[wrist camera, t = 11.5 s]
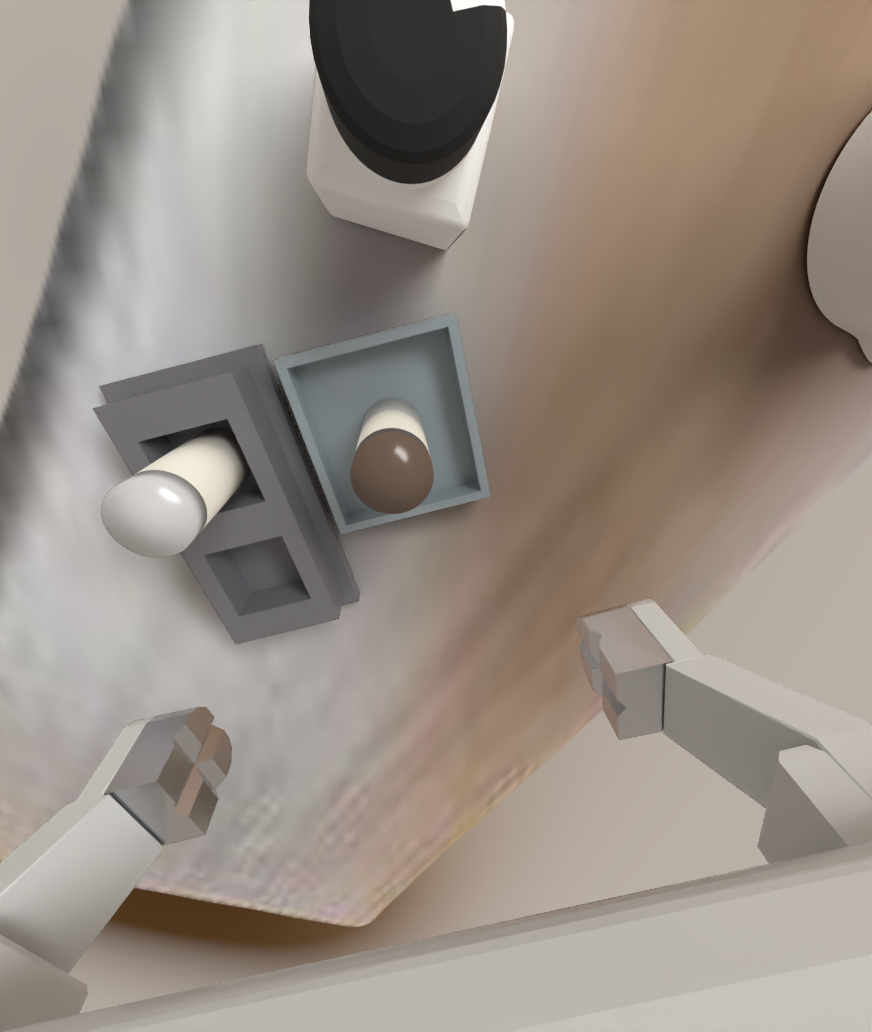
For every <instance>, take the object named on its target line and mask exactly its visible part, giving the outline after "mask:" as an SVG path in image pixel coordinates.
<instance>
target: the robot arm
mask: <svg viewBox="0 0 872 1032" xmlns="http://www.w3.org/2000/svg"><path fill="white" fill-rule="evenodd" d="M807 270H808V279H809V284H810V288H811V292H812V295H813V297H814V300H815V302H816V304H817V306H818V307H819V309H820V310H821V312H822V313H823V314H824V316H825V317H826V318H827V319H828V320H829V321H831V322H832V323H833V324H834V325H836V326H837V327H839V328H841V329H843V330H845V331H847V332H849V333H850V334H852V335H853V336H855V337H856V338H857V339H858V341H859V344H860V346H861V348H862V350H863V352H864V354H865V356H866V358H867V359H868V360H869V361H870V362H871V363H872V111H871V112H870V113H869V115H868V116H867V117H866V118H865V119H864V121H863V122H862V123H861V124H860V126H859V127H858V128H857V130H856V131H855V132H854V134H853V135H852V137H851V138H850V139H849V141H848V142H847V144H846V146H845V147H844V149H843V150H842V152H841V153H840V155H839V157H838V159H837V161H836V162H835V164H834V166H833V168H832V170H831V172H830V174H829V176H828V178H827V180H826V183H825V185H824V187H823V190H822V192H821V195H820V197H819V200H818V203H817V206H816V209H815V212H814V216H813V220H812V224H811V228H810V234H809V240H808V250H807ZM577 628H578V632H579V634H580V636H581V637H582V639H583V641H582V643H581V644H580V646H579V648H580V655H581V660H582V664H583V668H584V671H585V674H586V676H587V678H588V681H589V683H590V685H591V687H592V689H593V691H594V692H596V693H597V694H599V695H601V696H602V700H603V710H604V712H605V714H606V716H607V718H608V720H609V722H610V723H611V725H612V727H613V729H614V731H615V733H616V735H617V737H618V739H619V740H622V739H627V738H632V737H637V736H642V735H646V734H652V733H657V732H662V731H664V734H665V735H666V736H668V737H669V738H670V739H671V740H673V741H674V742H676V743H677V744H679V745H680V746H681V747H683V748H684V749H685V750H687V751H688V752H689V753H691V754H692V755H693V756H695V757H696V758H697V759H699V760H700V761H702V762H703V763H705V764H706V765H707V766H708V767H710V768H711V769H712V770H714V771H715V772H717V773H718V774H719V775H721V776H722V777H723V778H725V779H726V780H727V781H729V782H730V783H732V784H733V785H735V786H736V787H737V788H738V789H740V790H741V791H743V792H744V793H745V794H747V795H748V796H749V797H751V798H752V799H754V800H755V801H756V802H758V803H759V804H760V805H762V806H763V807H764V808H766V811H765V815H764V820H763V824H762V829H761V833H760V838H759V842H758V848H759V849H760V851H761V852H762V854H763V855H764V857H765V858H766V860H767V861H768V863H769V864H765V865H761V866H756V867H751V868H747V869H742V870H738V871H733V872H728V873H724V874H720V875H715V876H710V877H706V878H701V879H696V880H692V881H687V882H683V883H678V884H674V885H669V886H664V887H660V888H655V889H650V890H646V891H642V892H637V893H632V894H627V895H623V896H618V897H614V898H609V899H604V900H601V901H595V902H591V903H587V904H582V905H577V906H573V907H568V908H563V909H558V910H554V911H550V912H545V913H540V914H536V915H531V916H526V917H522V918H517V919H513V920H508V921H503V922H499V923H495V924H490V925H485V926H480V927H476V928H472V929H467V930H462V931H458V932H453V933H449V934H444V935H439V936H435V937H431V938H425V939H421V940H416V941H412V942H407V943H402V944H398V945H393V946H389V947H384V948H379V949H375V950H370V951H366V952H361V953H356V954H352V955H347V956H343V957H338V958H334V959H329V960H324V961H320V962H316V963H310V964H306V965H301V966H297V967H292V968H287V969H283V970H278V971H274V972H269V973H265V974H260V975H255V976H251V977H246V978H242V979H237V980H232V981H228V982H223V983H219V984H214V985H210V986H205V987H200V988H196V989H191V990H187V991H182V992H178V993H173V994H168V995H164V996H159V997H155V998H150V999H145V1000H141V1001H136V1002H132V1003H127V1004H123V1005H118V1006H113V1007H109V1008H104V1009H100V1010H96V1011H90V1012H86V1013H82V1014H79V1013H80V1010H81V1008H82V1006H83V1004H84V1001H85V999H86V997H87V995H88V991H87V985H86V984H84V983H83V982H81V981H79V980H78V979H76V978H74V977H72V976H71V975H69V972H70V971H71V970H72V968H73V967H74V966H75V964H76V963H77V962H78V960H79V959H80V958H81V956H82V955H83V954H84V952H85V951H86V950H87V949H88V947H89V946H90V945H91V943H92V942H93V941H94V939H95V938H96V937H97V935H98V934H99V933H100V931H101V930H102V929H103V928H104V926H105V925H106V924H107V922H108V921H109V920H110V918H111V917H112V916H113V914H114V913H115V912H116V910H117V909H118V908H119V906H120V905H121V904H122V903H123V901H124V900H125V899H126V897H127V896H128V895H129V893H130V892H131V891H132V890H133V888H134V887H135V886H136V884H137V883H138V882H139V880H140V879H141V878H142V876H143V875H144V874H145V873H146V871H147V870H148V869H149V867H150V866H151V865H152V863H153V862H154V861H155V859H156V858H157V857H158V855H159V854H160V853H161V852H162V850H163V849H164V847H163V846H164V845H168V844H172V843H176V842H179V841H183V840H187V839H191V838H195V837H198V836H202V835H205V834H206V831H207V828H208V826H209V823H210V820H211V817H212V815H213V812H214V809H215V807H216V804H217V801H218V797H217V793H216V790H215V789H216V788H217V787H218V786H219V785H220V783H221V782H222V781H223V780H224V779H225V778H226V776H227V773H228V771H229V768H230V765H231V756H232V746H231V743H230V739H229V737H228V735H227V734H226V733H225V731H224V730H222V729H220V728H218V727H216V726H213V725H212V724H213V720H214V716H213V715H212V714H211V712H210V711H209V710H208V709H207V707H196V708H192V709H187V710H182V711H177V712H173V713H168V714H163V715H158V716H155V717H151V718H147V719H142V720H137V721H133V722H131V723H130V724H129V725H127V726H126V727H124V729H123V730H122V732H121V733H120V735H119V736H118V738H117V739H116V741H115V742H114V744H113V745H112V747H111V748H110V750H109V751H108V753H107V755H106V756H105V758H104V759H103V761H102V762H101V764H100V765H99V767H98V768H97V770H96V771H95V773H94V774H93V776H92V777H91V779H90V780H89V782H88V783H87V785H86V786H85V788H84V789H83V791H82V792H81V794H80V796H79V797H78V799H77V800H76V802H73V803H69V804H67V805H66V806H65V807H64V808H62V809H61V810H60V811H59V812H58V813H57V814H56V815H54V816H53V817H52V818H51V819H50V820H49V821H48V822H46V823H45V824H44V825H43V826H42V827H41V828H39V829H38V830H37V831H36V832H35V833H34V834H33V835H31V836H30V837H29V838H28V839H27V840H26V841H25V842H23V843H22V844H21V845H20V846H19V847H18V848H17V849H15V850H14V851H13V852H12V853H11V854H10V855H9V856H7V857H6V858H5V859H4V860H3V861H2V862H1V863H0V1032H872V724H870V723H868V722H866V721H864V720H862V719H859V718H857V717H854V716H852V715H850V714H848V713H845V712H843V711H841V710H839V709H836V708H834V707H832V706H829V705H827V704H825V703H822V702H820V701H818V700H816V699H813V698H811V697H809V696H806V695H804V694H802V693H800V692H797V691H795V690H792V689H790V688H788V687H786V686H783V685H781V684H779V683H777V682H774V681H772V680H770V679H767V678H765V677H763V676H760V675H758V674H756V673H754V672H751V671H749V670H747V669H744V668H742V667H740V666H738V665H735V664H733V663H731V662H728V661H726V660H724V659H721V658H719V657H717V656H715V655H712V654H708V655H702V654H701V653H700V652H699V651H698V650H697V649H696V647H695V646H694V645H693V644H692V643H691V642H690V640H689V639H688V638H687V637H686V636H685V635H684V634H683V633H682V632H681V630H680V629H679V628H678V627H677V626H676V625H675V624H674V623H673V622H672V620H671V619H670V618H669V617H668V616H667V615H666V614H665V613H664V611H663V610H662V609H661V608H660V607H659V606H658V605H657V604H656V603H655V601H653V600H651V599H645V600H641V601H637V602H633V603H629V604H626V605H625V606H624V605H622V606H618V607H614V608H610V609H606V610H602V611H598V612H594V613H590V614H586V615H582V616H578V619H577Z"/></svg>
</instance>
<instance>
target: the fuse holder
mask: <svg viewBox="0 0 872 1032" xmlns="http://www.w3.org/2000/svg"><path fill="white" fill-rule="evenodd" d="M99 387H100V389H101V391H102V393H103V394H104V396H105V398H106V399H107V401H108V403H109V404H106V405H103V406H100V407H96V408H93V410H94V412H95V413H96V415H97V417H98V418H99V420H100V421H101V423H102V425H103V426H104V428H105V430H106V431H107V433H108V435H109V436H110V438H111V440H112V441H113V443H114V445H115V446H116V448H117V449H118V451H119V453H120V454H121V456H122V458H123V459H124V461H125V463H126V464H127V466H128V468H129V469H130V471H131V473H132V474H133V475H134V474H136V473H138V472H139V471H141V470H142V469H144V468H145V467H147V466H149V465H150V464H152V463H153V462H155V461H156V460H158V459H160V458H161V457H163V456H164V455H166V454H168V453H169V452H171V451H172V450H174V449H175V448H177V447H179V446H180V445H182V444H183V443H185V442H186V441H188V440H190V439H191V438H193V437H194V436H196V435H197V434H199V433H201V432H202V431H204V430H207V429H211V428H222V429H226V430H230V431H232V432H234V434H235V436H236V439H237V441H238V443H239V445H240V447H241V449H242V451H243V454H244V456H245V458H246V460H247V462H248V464H249V467H250V469H251V471H252V472H251V474H250V475H249V477H248V478H247V479H246V480H245V481H244V482H243V484H242V485H241V486H240V487H239V488H238V489H237V490H236V492H235V493H234V494H233V495H232V496H231V497H230V499H229V500H228V501H227V502H226V503H225V504H224V505H223V507H222V508H221V509H220V510H219V511H218V512H217V514H216V515H215V516H214V517H213V518H212V519H211V520H210V522H209V523H208V524H207V525H206V526H205V527H204V529H203V530H202V531H201V532H200V533H199V534H198V535H197V537H196V538H195V539H194V540H193V541H192V542H191V544H190V545H189V546H188V547H187V548H186V549H185V550H183V551H182V552H180V553H181V555H182V556H183V558H184V560H185V561H186V563H187V565H188V566H189V568H190V570H191V571H192V573H193V575H194V576H195V578H196V580H197V581H198V583H199V584H200V586H201V588H202V589H203V591H204V593H205V594H206V596H207V598H208V599H209V601H210V603H211V604H212V606H213V607H214V609H215V611H216V612H217V614H218V616H219V617H220V619H221V621H222V622H223V624H224V626H225V627H226V629H227V631H228V632H229V634H230V635H231V637H232V639H233V640H234V642H235V644H239V643H243V642H247V641H251V640H255V639H259V638H263V637H267V636H271V635H275V634H279V633H283V632H288V631H292V630H296V629H300V628H304V627H308V626H312V625H316V624H320V623H324V622H328V621H332V620H336V619H339V616H340V610H341V605H344V604H348V603H352V602H356V601H359V596H360V593H359V590H358V588H357V585H356V583H355V580H354V577H353V575H352V572H351V570H350V567H349V565H348V562H347V560H346V557H345V555H344V552H343V550H342V547H341V544H340V542H339V539H338V537H337V534H336V532H335V529H334V527H333V524H332V522H331V519H330V517H329V514H328V511H327V509H326V506H325V504H324V501H323V499H322V496H321V494H320V491H319V489H318V486H317V484H316V481H315V479H314V476H313V473H312V471H311V468H310V466H309V463H308V461H307V458H306V456H305V453H304V451H303V448H302V446H301V443H300V440H299V438H298V435H297V433H296V430H295V428H294V425H293V423H292V420H291V418H290V415H289V413H288V410H287V408H286V405H285V402H284V400H283V397H282V395H281V392H280V390H279V387H278V385H277V382H276V380H275V377H274V375H273V372H272V369H271V367H270V364H269V362H268V359H267V357H266V354H265V352H264V349H263V347H262V344H259V345H255V346H252V347H248V348H244V349H240V350H236V351H232V352H229V353H225V354H221V355H217V356H213V357H209V358H206V359H202V360H198V361H194V362H190V363H187V364H183V365H179V366H175V367H171V368H167V369H164V370H160V371H156V372H152V373H148V374H144V375H141V376H137V377H133V378H129V379H125V380H122V381H118V382H114V383H110V384H106V385H102V386H99Z"/></svg>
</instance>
